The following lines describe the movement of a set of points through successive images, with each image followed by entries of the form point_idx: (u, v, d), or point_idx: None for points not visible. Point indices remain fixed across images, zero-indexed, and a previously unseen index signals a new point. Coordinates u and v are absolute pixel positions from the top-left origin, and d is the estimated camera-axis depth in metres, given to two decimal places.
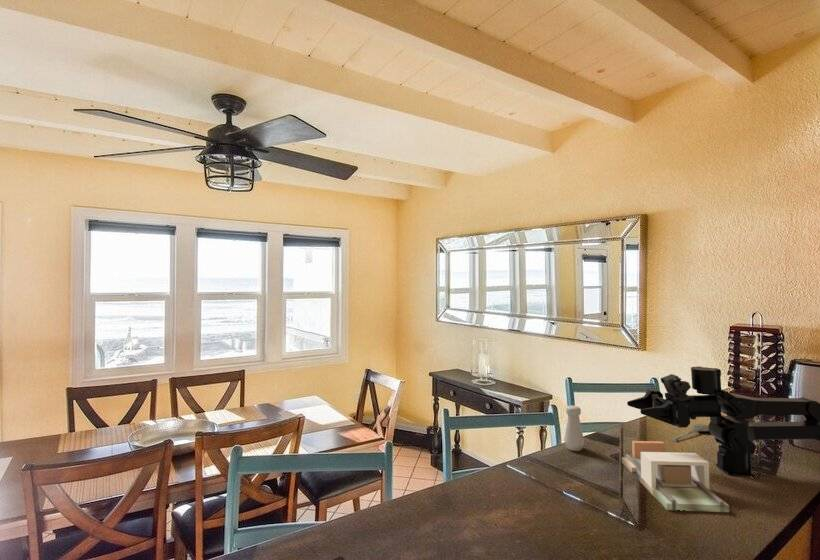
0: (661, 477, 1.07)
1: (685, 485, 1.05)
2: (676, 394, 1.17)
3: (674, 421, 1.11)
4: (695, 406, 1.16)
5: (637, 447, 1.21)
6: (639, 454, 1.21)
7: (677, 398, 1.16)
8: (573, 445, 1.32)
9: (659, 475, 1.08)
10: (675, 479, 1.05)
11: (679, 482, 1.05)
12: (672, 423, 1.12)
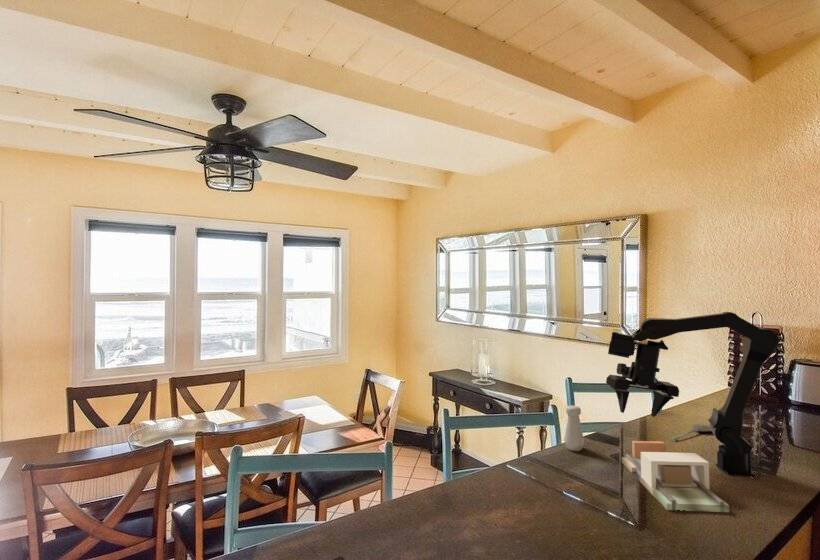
0: (661, 477, 1.07)
1: (685, 485, 1.05)
2: None
3: (617, 390, 1.24)
4: (635, 363, 1.27)
5: (637, 447, 1.21)
6: (639, 454, 1.21)
7: (628, 376, 1.29)
8: (573, 445, 1.32)
9: (659, 475, 1.08)
10: (675, 479, 1.05)
11: (679, 482, 1.05)
12: None
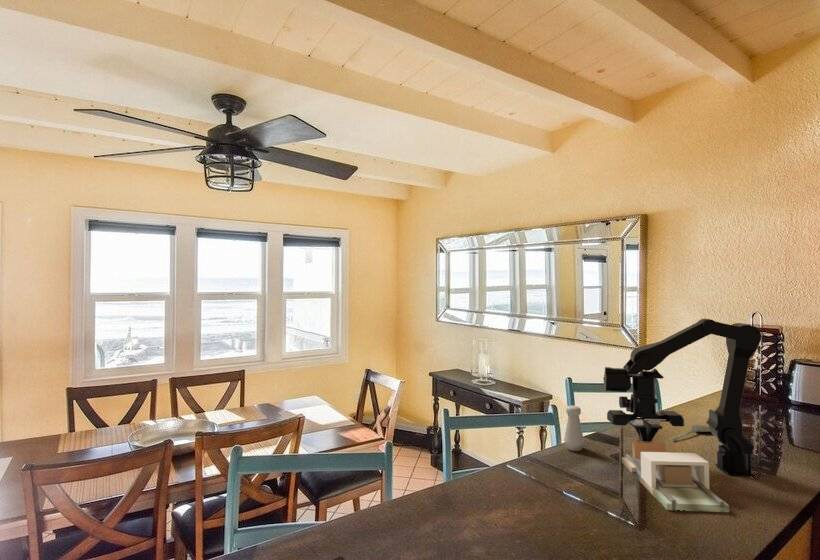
0: (661, 477, 1.07)
1: (685, 485, 1.04)
2: None
3: (633, 426, 1.22)
4: (632, 395, 1.25)
5: (637, 447, 1.21)
6: (639, 454, 1.21)
7: (629, 409, 1.27)
8: (573, 445, 1.32)
9: (659, 475, 1.08)
10: (675, 479, 1.05)
11: (679, 482, 1.05)
12: None
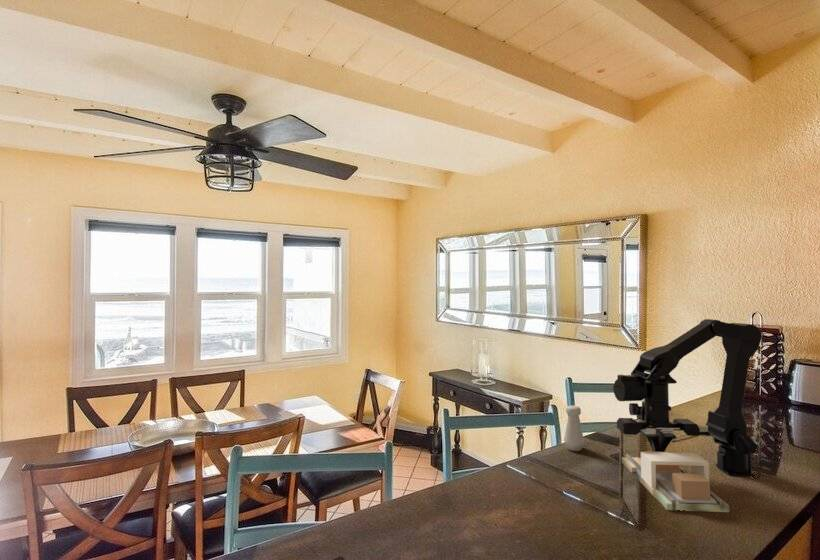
0: (677, 492, 1.00)
1: (703, 501, 0.97)
2: None
3: (645, 435, 1.15)
4: (644, 402, 1.17)
5: None
6: None
7: (640, 417, 1.19)
8: (573, 445, 1.32)
9: (675, 490, 1.01)
10: (692, 494, 0.98)
11: (697, 498, 0.97)
12: None
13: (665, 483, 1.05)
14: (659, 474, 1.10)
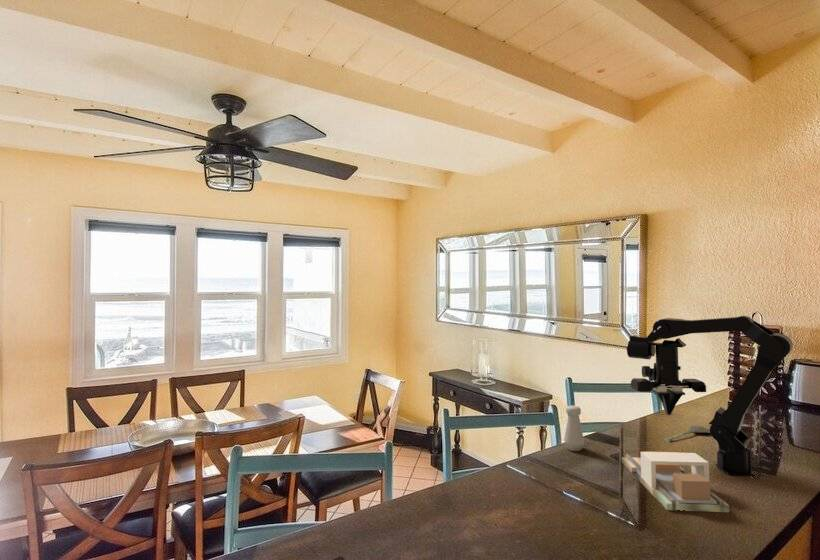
0: (677, 492, 1.00)
1: (704, 501, 0.97)
2: None
3: (657, 392, 1.27)
4: (656, 364, 1.30)
5: None
6: None
7: (652, 377, 1.32)
8: (573, 445, 1.32)
9: (675, 490, 1.01)
10: (693, 495, 0.97)
11: (697, 498, 0.97)
12: None
13: (665, 483, 1.05)
14: (659, 474, 1.10)
